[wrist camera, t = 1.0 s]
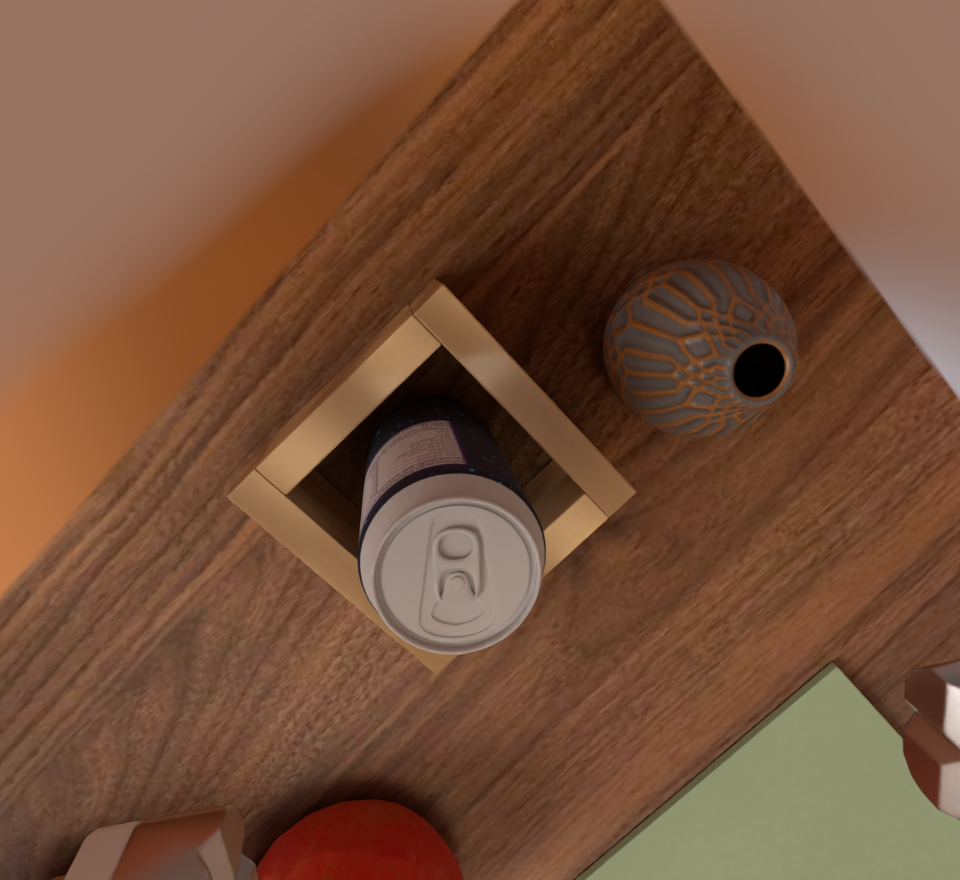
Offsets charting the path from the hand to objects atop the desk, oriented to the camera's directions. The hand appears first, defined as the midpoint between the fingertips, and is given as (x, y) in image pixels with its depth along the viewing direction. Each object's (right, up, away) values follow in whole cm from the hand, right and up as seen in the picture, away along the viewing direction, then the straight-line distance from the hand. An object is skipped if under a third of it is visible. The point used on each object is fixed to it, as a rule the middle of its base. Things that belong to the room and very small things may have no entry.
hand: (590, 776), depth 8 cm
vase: (+7, +9, +23) cm, 25 cm away
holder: (-3, +3, +23) cm, 23 cm away
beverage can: (-3, +3, +23) cm, 24 cm away
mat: (+17, -21, +32) cm, 42 cm away
